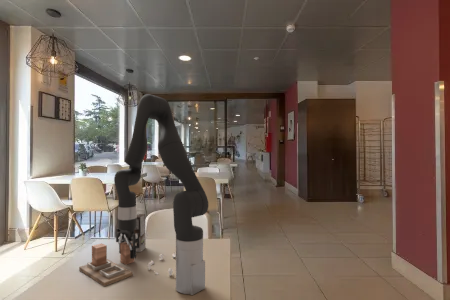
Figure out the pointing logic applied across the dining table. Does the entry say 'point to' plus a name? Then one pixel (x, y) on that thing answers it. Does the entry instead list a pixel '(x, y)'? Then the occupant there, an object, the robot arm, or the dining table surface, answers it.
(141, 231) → the coffee box
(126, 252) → the pin
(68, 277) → the dining table surface
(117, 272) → the board
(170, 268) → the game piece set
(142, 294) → the dining table surface
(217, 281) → the dining table surface
